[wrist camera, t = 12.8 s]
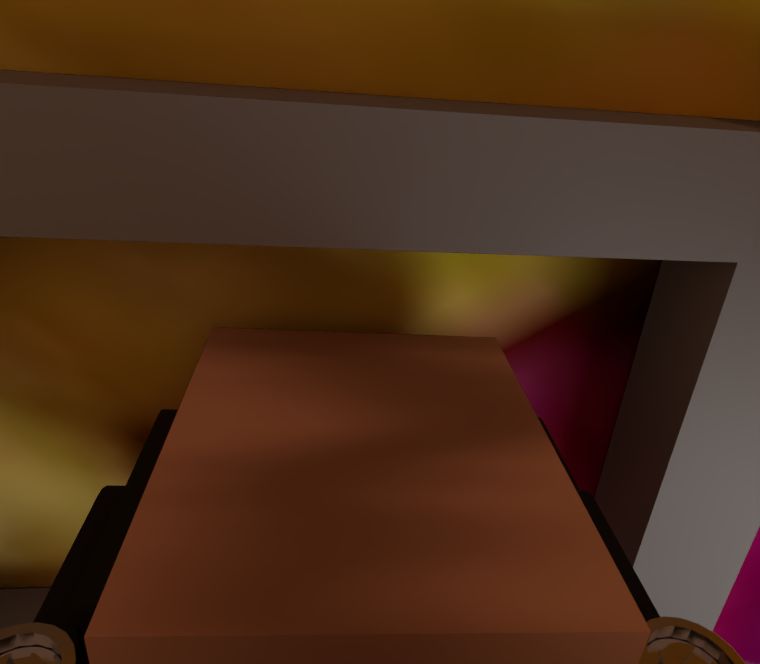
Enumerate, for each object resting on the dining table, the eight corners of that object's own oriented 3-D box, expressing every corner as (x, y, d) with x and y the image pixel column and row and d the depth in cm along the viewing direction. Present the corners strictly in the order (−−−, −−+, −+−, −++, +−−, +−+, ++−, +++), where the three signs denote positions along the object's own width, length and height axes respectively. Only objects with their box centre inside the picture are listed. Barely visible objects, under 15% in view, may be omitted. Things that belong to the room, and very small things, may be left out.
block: (495, 337, 11) (650, 631, 6) (458, 543, 13) (545, 897, 8) (212, 327, 10) (83, 636, 5) (223, 543, 13) (142, 918, 7)
